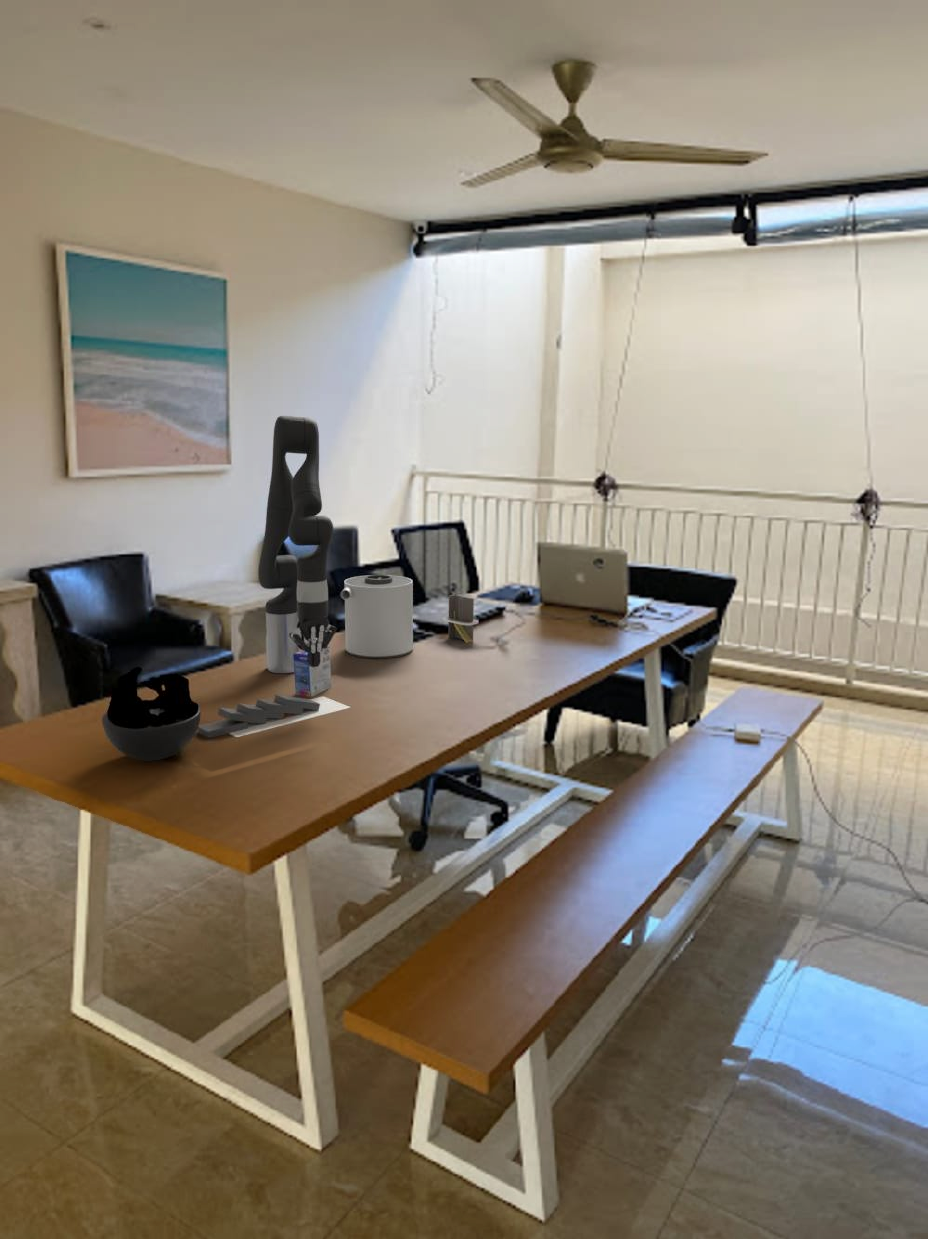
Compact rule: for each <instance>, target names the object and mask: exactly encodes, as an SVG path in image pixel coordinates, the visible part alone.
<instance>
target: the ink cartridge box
mask: <svg viewBox="0 0 928 1239" xmlns="http://www.w3.org/2000/svg"><path fill="white" fill-rule="evenodd" d="M330 648H331V647H329V646H327V648H323V649H322V650H321V651H320V664H319V666H318V667H311V666H310V665H309V664H308V656H307V652H305V651H303V650H300V651H299V652H296V653H294V654H293V659H294V672H293V673H294V674H293V675H294V685H295V686H294V688H295V695H298V696H303V697H310V698H312V697H314V696H317V695H318V694H320V693H322V692H323V693H324V692H325V691H327V690H328V689H331V688H332V674H331V650H330Z"/></svg>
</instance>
